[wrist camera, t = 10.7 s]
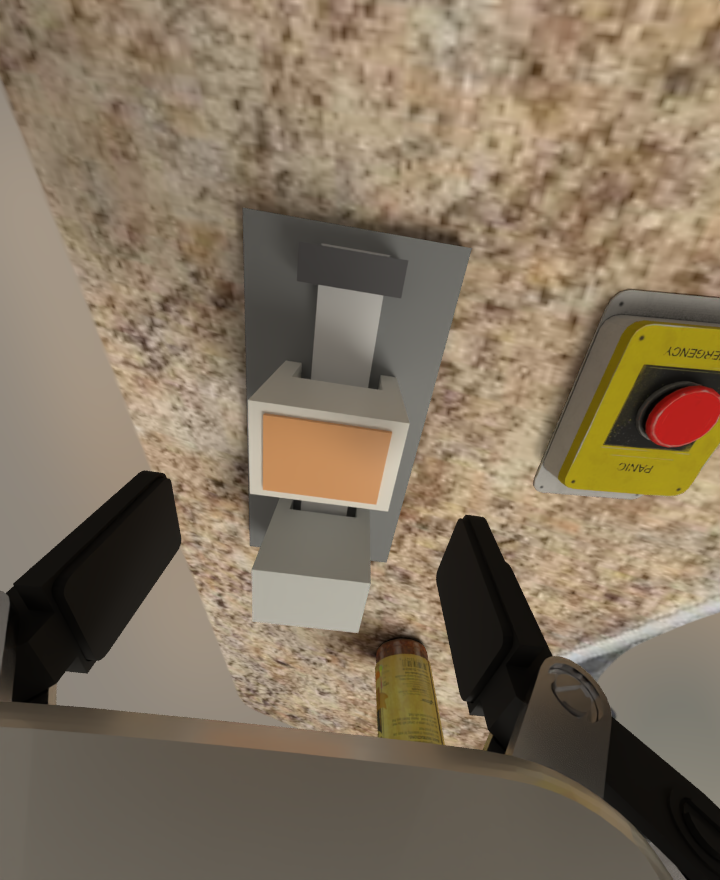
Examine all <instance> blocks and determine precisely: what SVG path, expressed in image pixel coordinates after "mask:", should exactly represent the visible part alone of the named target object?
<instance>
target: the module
mask: <svg viewBox="0 0 720 880" xmlns="http://www.w3.org/2000/svg"><path fill="white" fill-rule="evenodd" d="M301 368H302V363H299V362H293V361H285V362H284V363H283V364H282V365H281V366H280V367H279V368H278V369H277V370H276V371H275V372H274V373H273V374H272V375H271V376H270V378H269V379H268V380H267V381H266V382H265V383H264V384H263V385H262V386H261V387H260V388H259V389H258V390H257V391H256V392H255V393H254V394H253V395H252V396H251V397H250V398H249V399H248V429H249V478H250V494H256V495H264V496H272V497H279V498H287V499H295V500H303V501H310V502H318V503H326V504H333V505H341V506H349V507H357V508H364V509H372V510H380V511H387V512H388V510H389V505H390V501H391V497H392V493H393V489H394V485H395V481H396V477H397V473H398V469H399V465H400V461H401V457H402V453H403V449H404V445H405V441H406V437H407V433H408V429H409V424H410V423H409V419H408V416H407V413H406V409H405V406H404V402H403V399H402V395H401V392H400V389H399V385H398V382H397V378H396V377H391V376H384V375H381V376H380V382H379V387H378V390H377V389H371V388H364V387H357V386H351V385H344V384H337V383H331V382H324V381H317V380H311V379H304V378H301Z"/></svg>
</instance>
